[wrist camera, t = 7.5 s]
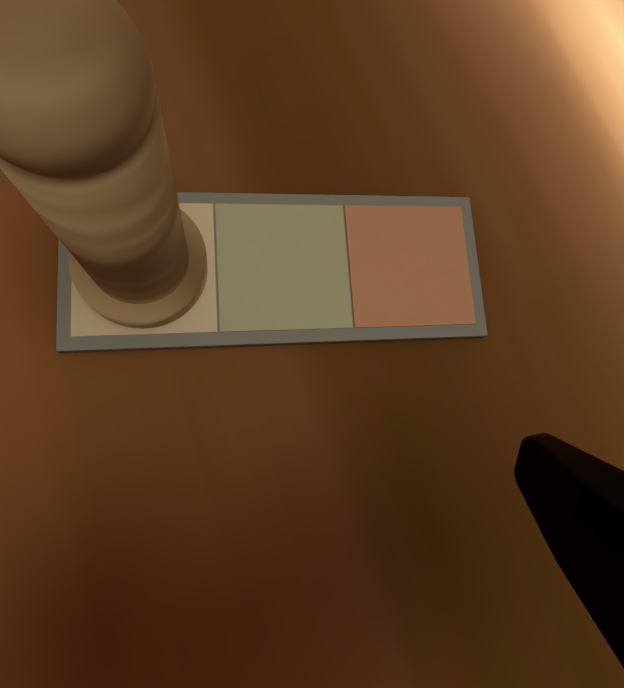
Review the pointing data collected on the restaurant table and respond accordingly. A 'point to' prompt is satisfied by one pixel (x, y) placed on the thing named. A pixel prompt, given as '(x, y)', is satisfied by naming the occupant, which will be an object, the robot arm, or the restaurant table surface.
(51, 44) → the pawn
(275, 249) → the board
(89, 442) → the restaurant table surface
